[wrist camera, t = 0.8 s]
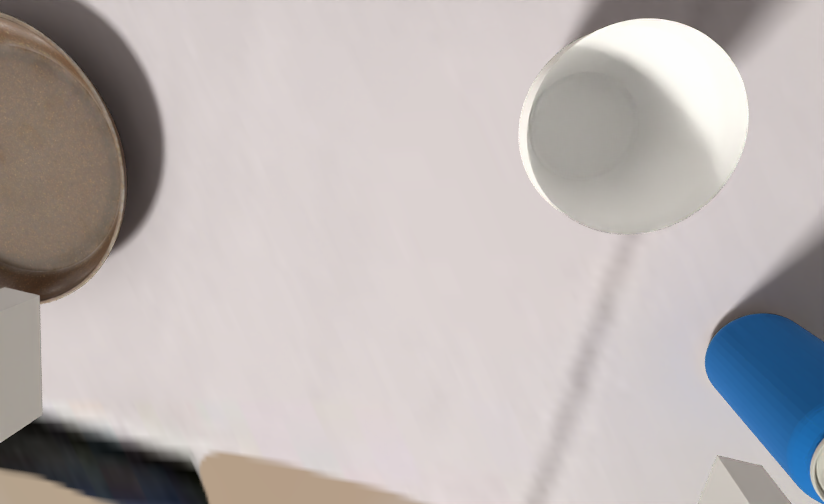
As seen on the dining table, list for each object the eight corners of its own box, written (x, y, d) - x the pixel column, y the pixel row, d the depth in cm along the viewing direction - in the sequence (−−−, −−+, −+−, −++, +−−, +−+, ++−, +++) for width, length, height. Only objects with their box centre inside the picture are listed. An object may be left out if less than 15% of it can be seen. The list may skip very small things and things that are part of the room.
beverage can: (818, 376, 35) (983, 505, 23) (720, 410, 36) (828, 546, 25) (785, 293, 34) (940, 384, 22) (685, 331, 35) (782, 435, 24)
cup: (503, 192, 35) (512, 230, 23) (517, 48, 32) (535, 9, 21) (645, 202, 33) (727, 247, 22) (670, 54, 31) (777, 16, 20)
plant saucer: (-145, 92, 40) (-200, 90, 37) (56, -41, 35) (14, -57, 32) (1, 326, 43) (-37, 343, 40) (202, 234, 39) (176, 244, 36)
